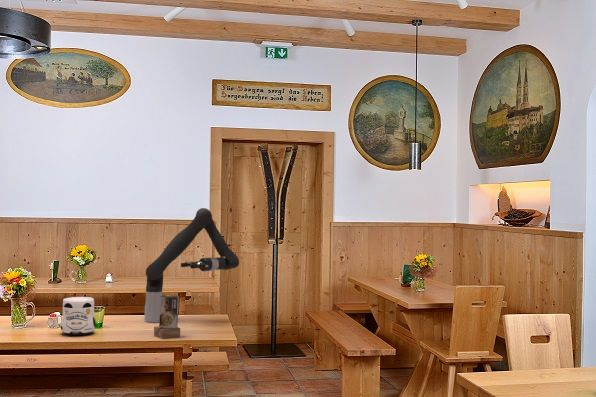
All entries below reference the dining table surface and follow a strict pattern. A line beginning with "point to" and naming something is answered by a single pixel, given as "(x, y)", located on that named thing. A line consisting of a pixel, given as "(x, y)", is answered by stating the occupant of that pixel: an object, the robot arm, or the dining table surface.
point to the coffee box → (169, 311)
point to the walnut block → (166, 332)
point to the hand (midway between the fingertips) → (186, 265)
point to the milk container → (78, 316)
